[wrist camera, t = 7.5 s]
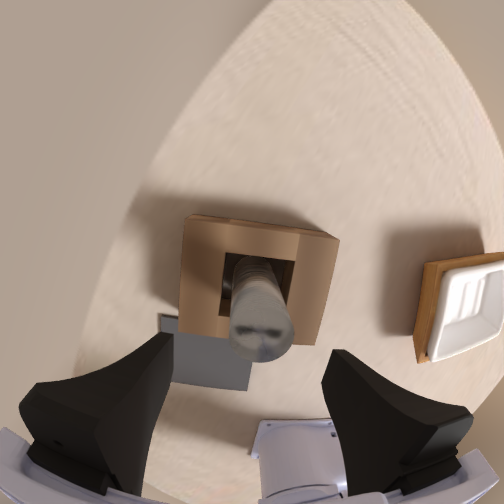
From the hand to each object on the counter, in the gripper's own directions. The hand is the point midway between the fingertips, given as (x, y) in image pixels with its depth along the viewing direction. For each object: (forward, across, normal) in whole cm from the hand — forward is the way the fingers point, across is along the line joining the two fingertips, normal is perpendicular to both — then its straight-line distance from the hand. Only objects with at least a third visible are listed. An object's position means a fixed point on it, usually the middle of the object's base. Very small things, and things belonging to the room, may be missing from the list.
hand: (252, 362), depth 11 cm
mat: (+10, +3, +7) cm, 12 cm away
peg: (+10, 0, -1) cm, 10 cm away
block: (+10, 0, -1) cm, 10 cm away
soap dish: (+10, -21, -1) cm, 24 cm away
